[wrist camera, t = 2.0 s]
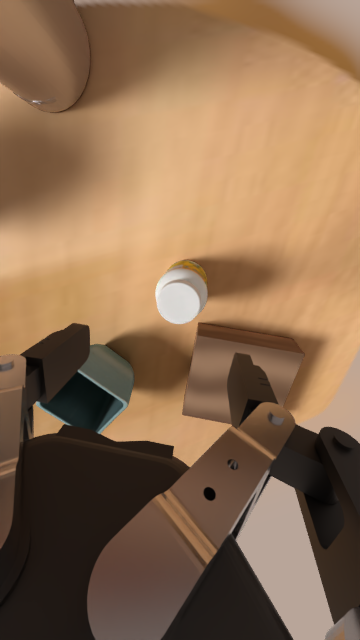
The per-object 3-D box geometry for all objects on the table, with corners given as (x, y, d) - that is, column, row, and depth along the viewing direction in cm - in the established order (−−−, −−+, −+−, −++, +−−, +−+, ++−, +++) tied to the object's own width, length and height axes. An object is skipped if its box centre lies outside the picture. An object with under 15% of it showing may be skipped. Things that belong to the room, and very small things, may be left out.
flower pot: (148, 362, 34) (129, 405, 26) (117, 395, 37) (92, 442, 29) (101, 327, 33) (65, 360, 25) (73, 364, 36) (33, 404, 28)
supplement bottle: (158, 270, 29) (137, 288, 20) (196, 252, 27) (192, 263, 18) (177, 306, 30) (165, 338, 21) (213, 291, 29) (217, 318, 20)
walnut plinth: (198, 322, 31) (197, 335, 27) (292, 338, 30) (304, 354, 27) (184, 395, 36) (182, 414, 32) (265, 410, 35) (272, 432, 32)
